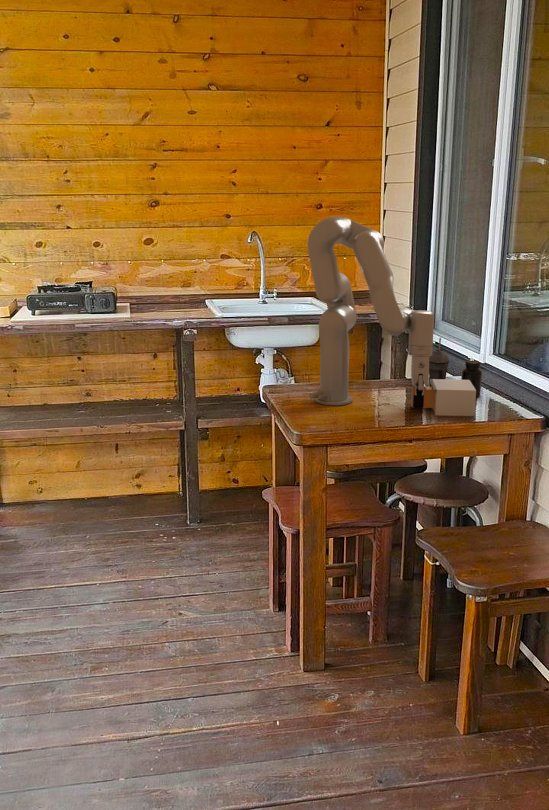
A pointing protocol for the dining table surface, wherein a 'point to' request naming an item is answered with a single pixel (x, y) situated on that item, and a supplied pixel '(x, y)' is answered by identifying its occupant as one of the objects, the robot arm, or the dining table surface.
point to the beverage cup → (438, 364)
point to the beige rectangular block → (453, 397)
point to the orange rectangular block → (425, 397)
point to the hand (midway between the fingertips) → (417, 404)
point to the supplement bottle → (473, 375)
